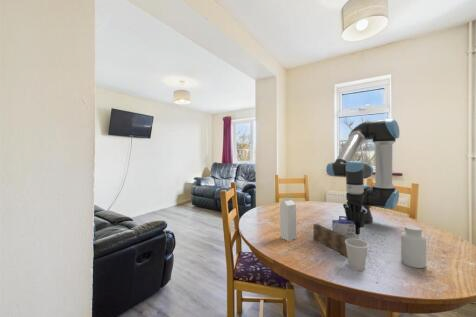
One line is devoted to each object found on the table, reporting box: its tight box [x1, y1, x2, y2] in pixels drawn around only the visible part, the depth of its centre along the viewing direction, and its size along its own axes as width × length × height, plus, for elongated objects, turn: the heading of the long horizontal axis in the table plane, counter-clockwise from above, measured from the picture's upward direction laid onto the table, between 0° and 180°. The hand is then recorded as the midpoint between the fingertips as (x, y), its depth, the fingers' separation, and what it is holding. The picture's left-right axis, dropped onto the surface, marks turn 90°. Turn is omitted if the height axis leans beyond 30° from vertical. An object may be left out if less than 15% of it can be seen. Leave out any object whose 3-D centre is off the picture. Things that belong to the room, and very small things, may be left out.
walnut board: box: [312, 223, 349, 259], centre depth 104 cm, size 22×2×8 cm, turn 19°
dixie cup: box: [345, 238, 370, 272], centre depth 86 cm, size 8×8×10 cm
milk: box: [279, 197, 297, 242], centre depth 115 cm, size 6×6×22 cm
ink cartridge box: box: [332, 215, 355, 239], centre depth 104 cm, size 10×6×14 cm, turn 72°
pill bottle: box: [400, 225, 427, 269], centre depth 88 cm, size 8×8×15 cm
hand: (355, 239), depth 106 cm, fingers closed
